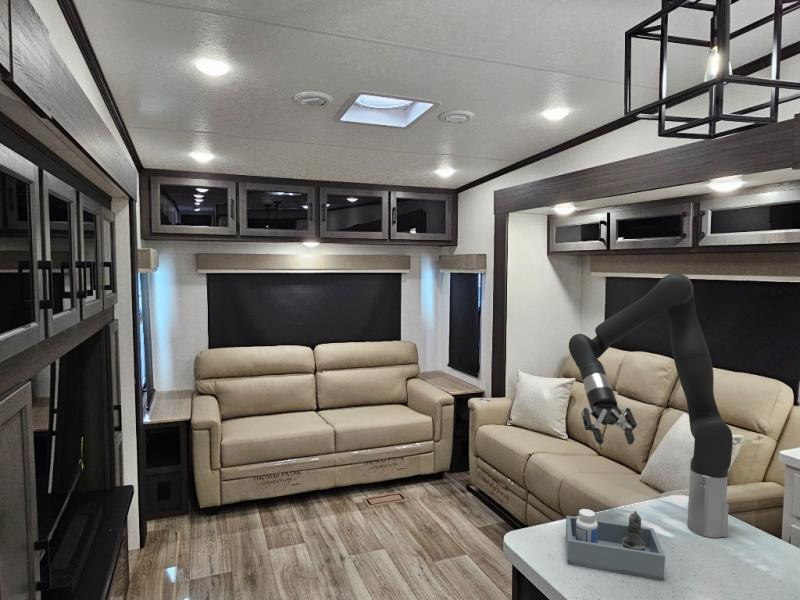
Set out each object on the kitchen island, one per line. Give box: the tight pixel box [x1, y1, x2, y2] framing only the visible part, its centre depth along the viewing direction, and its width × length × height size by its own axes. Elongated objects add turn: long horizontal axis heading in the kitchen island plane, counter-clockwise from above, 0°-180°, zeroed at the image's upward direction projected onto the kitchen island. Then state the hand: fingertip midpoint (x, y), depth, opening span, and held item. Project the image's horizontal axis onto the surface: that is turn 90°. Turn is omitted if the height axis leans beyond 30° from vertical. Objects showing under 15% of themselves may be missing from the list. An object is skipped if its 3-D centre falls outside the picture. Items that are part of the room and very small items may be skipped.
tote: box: [565, 515, 666, 581], centre depth 131 cm, size 22×14×6 cm, turn 74°
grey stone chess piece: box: [622, 510, 647, 551], centre depth 130 cm, size 6×6×12 cm
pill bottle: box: [576, 508, 598, 543], centre depth 133 cm, size 6×5×10 cm
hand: (616, 443), depth 140 cm, fingers open, 8 cm apart
